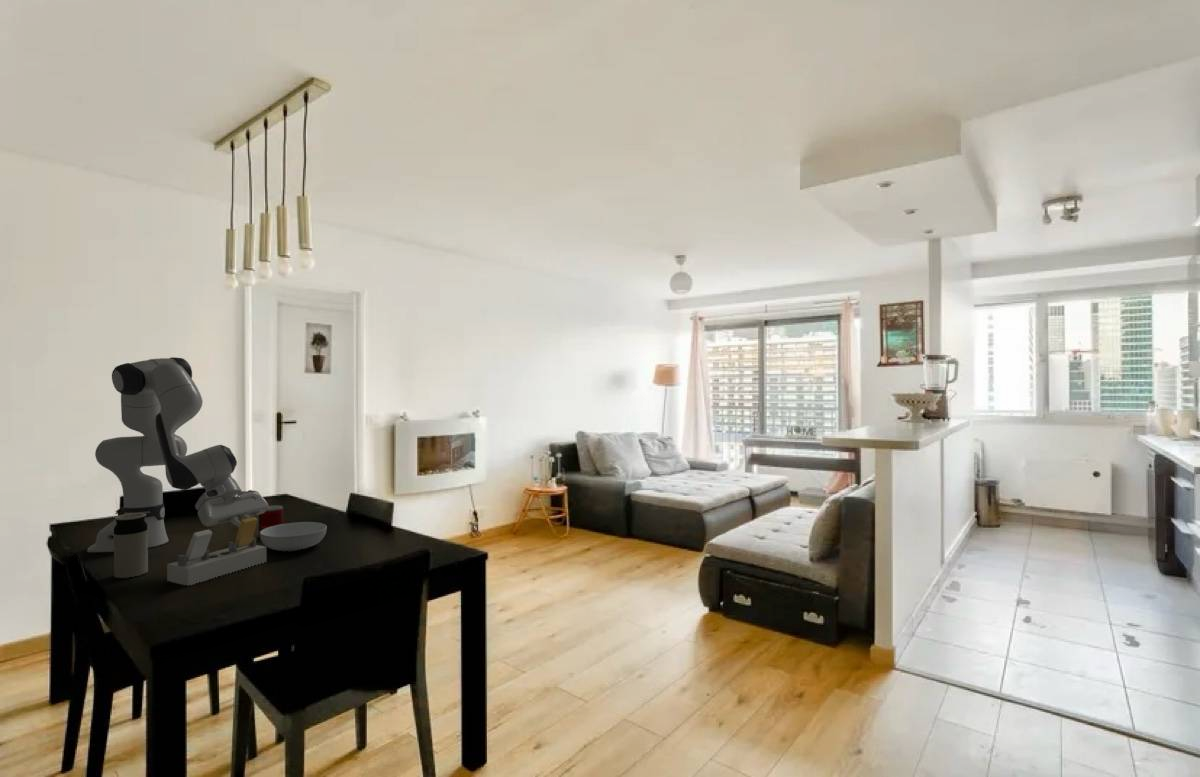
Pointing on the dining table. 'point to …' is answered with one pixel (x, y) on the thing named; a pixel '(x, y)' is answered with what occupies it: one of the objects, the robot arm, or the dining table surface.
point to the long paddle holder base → (215, 563)
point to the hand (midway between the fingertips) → (245, 528)
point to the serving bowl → (293, 535)
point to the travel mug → (130, 545)
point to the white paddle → (198, 545)
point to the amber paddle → (246, 532)
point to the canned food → (271, 517)
